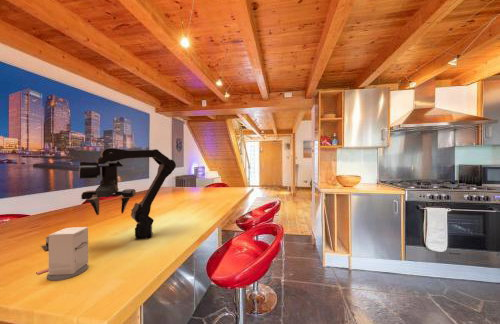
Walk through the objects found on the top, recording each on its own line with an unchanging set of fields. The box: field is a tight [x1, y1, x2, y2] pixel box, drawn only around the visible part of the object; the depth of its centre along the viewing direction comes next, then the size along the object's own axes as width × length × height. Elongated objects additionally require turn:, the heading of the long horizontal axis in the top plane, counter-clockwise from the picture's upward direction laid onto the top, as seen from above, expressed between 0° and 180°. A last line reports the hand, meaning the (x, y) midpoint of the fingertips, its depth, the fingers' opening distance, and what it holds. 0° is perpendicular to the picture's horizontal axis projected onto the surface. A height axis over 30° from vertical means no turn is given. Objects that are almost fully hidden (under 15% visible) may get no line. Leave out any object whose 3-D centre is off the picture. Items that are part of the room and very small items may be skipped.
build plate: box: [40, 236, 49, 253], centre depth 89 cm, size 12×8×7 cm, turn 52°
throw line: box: [36, 267, 49, 275], centre depth 72 cm, size 10×2×1 cm, turn 153°
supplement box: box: [47, 226, 89, 275], centre depth 69 cm, size 7×7×13 cm
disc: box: [46, 263, 89, 282], centre depth 69 cm, size 10×10×1 cm
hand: (110, 214), depth 91 cm, fingers open, 9 cm apart
